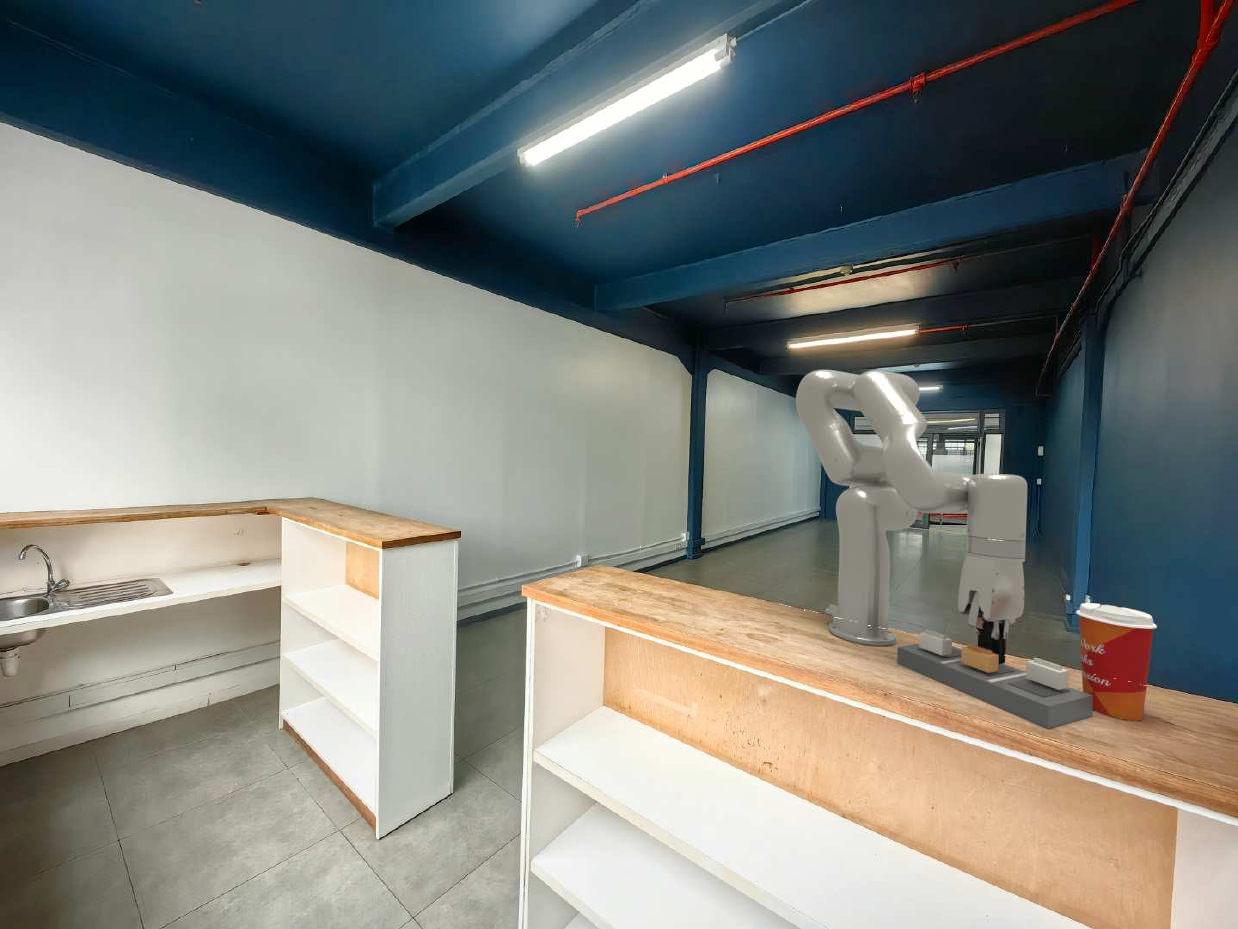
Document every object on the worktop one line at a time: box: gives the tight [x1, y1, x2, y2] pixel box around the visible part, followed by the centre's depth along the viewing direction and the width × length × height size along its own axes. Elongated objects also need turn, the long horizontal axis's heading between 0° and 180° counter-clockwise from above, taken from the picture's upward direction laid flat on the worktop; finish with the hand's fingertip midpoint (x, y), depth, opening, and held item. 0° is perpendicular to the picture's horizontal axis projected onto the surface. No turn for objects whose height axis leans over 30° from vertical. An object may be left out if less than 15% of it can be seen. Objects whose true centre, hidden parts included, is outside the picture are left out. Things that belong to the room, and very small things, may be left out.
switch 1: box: [918, 629, 953, 656], centre depth 81 cm, size 4×2×3 cm, turn 22°
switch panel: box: [896, 643, 1093, 730], centre depth 75 cm, size 22×11×3 cm, turn 22°
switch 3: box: [1025, 657, 1070, 690], centre depth 69 cm, size 4×2×3 cm, turn 22°
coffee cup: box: [1075, 602, 1158, 722], centre depth 69 cm, size 8×8×15 cm
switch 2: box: [961, 643, 999, 673], centre depth 74 cm, size 4×2×3 cm, turn 22°
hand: (991, 660), depth 76 cm, fingers closed
